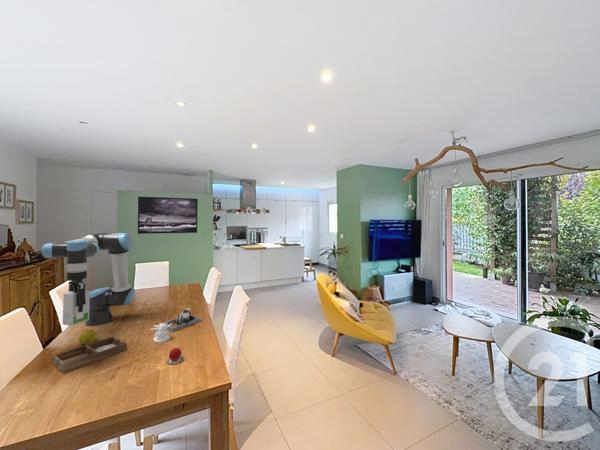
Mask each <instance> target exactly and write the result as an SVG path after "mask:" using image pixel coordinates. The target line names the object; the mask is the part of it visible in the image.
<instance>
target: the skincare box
mask: <svg viewBox="0 0 600 450" xmlns="http://www.w3.org/2000/svg"><path fill="white" fill-rule="evenodd" d="M90 292H91V291H90V289H85V299H86V304H84V316H83V318H80V319H76V307H75V305H77V301H76V295H77V293H74V291H70V292H69V291H67V292H66V291H65V292H63V300H62V301H63V302H62V304H63V305H62V325H64V326H75V325H78V324H81V323H83V322H86V321H88V320H89V301H90Z"/></svg>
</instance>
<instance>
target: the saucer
mask: <svg viewBox="0 0 600 450" xmlns="http://www.w3.org/2000/svg"><path fill="white" fill-rule="evenodd" d="M115 346H116V345H113V344H111V345H105V346H102V347H99V348H97V349H96V351H97V352H101V351H104V350H106V349H109V348H112V347H115Z"/></svg>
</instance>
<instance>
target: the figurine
mask: <svg viewBox="0 0 600 450" xmlns="http://www.w3.org/2000/svg"><path fill="white" fill-rule="evenodd" d="M172 325H173V324H170V325H167V323H165V324H164V322H160V323H159V324H155V325H153V328H150V330H151V331H155V332H154V333H153V335H154V338H153V339H152V341H153V342H155V343H156V344H162V343H165V342H167V341H169V340H170V338H171V337H170V335H169V333H170V331H169V330H166V329H167V328H168V327H170V326H171V327H172Z"/></svg>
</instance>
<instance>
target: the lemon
mask: <svg viewBox="0 0 600 450" xmlns="http://www.w3.org/2000/svg"><path fill="white" fill-rule="evenodd" d="M96 339H97V331H95V330H94V329H90V328H89V329H85V330H83V331H82V332H81V334H80V335H79V337H78V342H79V344H80V345H82V346H84V345H87V344H90V343H93V342H96V341H95V340H96Z"/></svg>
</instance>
